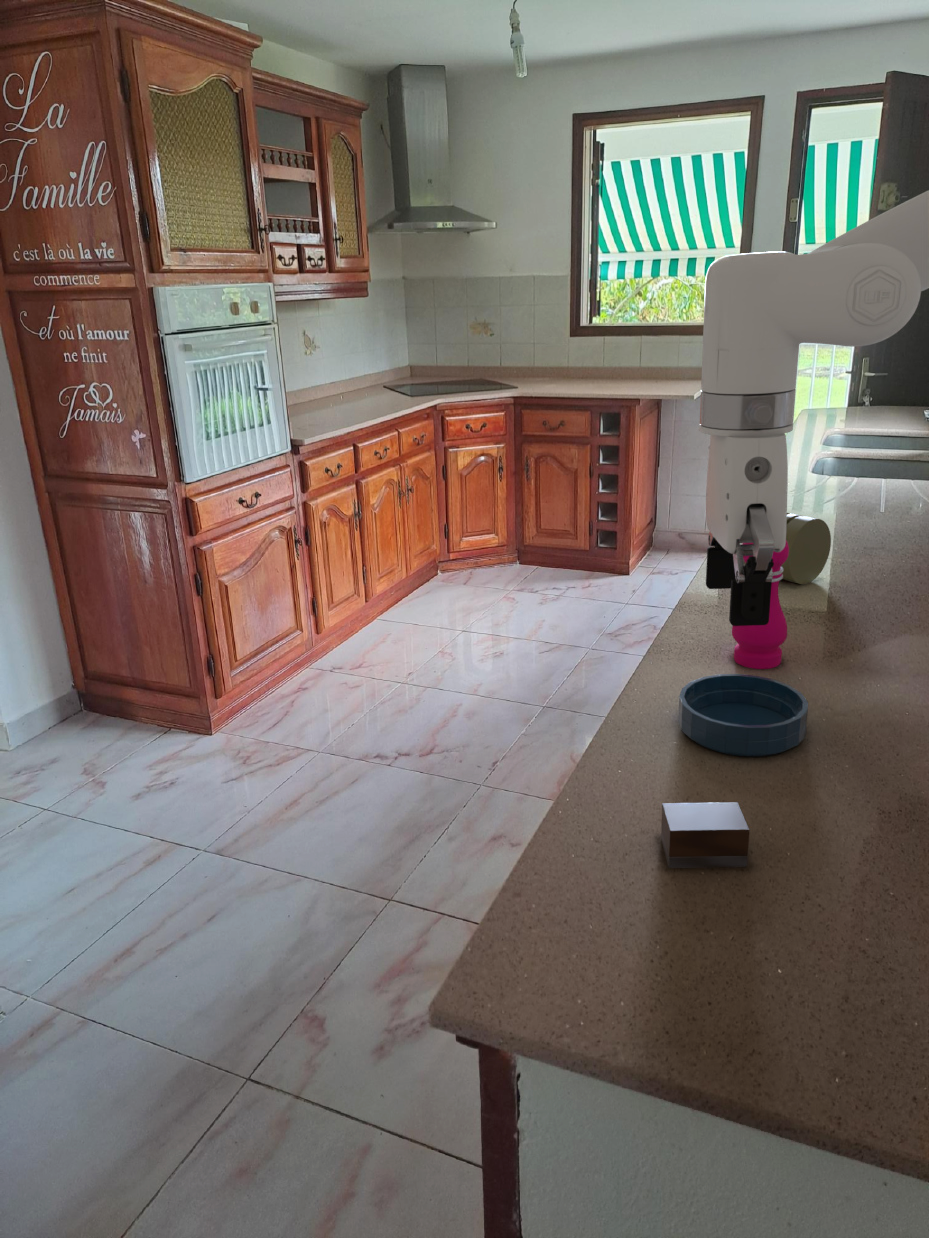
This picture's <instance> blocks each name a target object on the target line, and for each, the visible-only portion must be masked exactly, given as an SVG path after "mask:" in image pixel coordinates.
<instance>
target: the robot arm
mask: <svg viewBox="0 0 929 1238" xmlns="http://www.w3.org/2000/svg"><path fill="white" fill-rule="evenodd" d="M928 289H929V189H928V190H926V191H924V192H922V193H920V194H917V195H916V196H914V197H912V198H910V199H908V200H906V201H904V202H902V203H900V204H898V205H896V206H894V207H892V208H890V209H888V210H886V211H884V212H882V213H880V214H878V215H876V216H874V217H873V218H870V219H869V220H867V221H865V222H863V223H861V224H859V225H858V226H855V227H854V228H852V229H850V230H848V231H846V232H844V233H843V234H840V235H839V236H837V237H835V238H833V239H832V240H830V241H828V242H825V243H824V244H822V245H820V246H818V247H817V248H815V249H814V250H812V251H811V252H808V253H802V254H801V253H800V254H795V253H792V252H790V251H789V252H788V251H766V252H765V251H764V252H749V253H748V252H747V253H739V254H738V253H737V254H728V255H724V256H721V257H719V258H716V259H715V260H714V261H712V263H711V264H710V265H709V266H708V269H707V271H706V275H705V283H704V304H703V305H704V306H703V329H702V330H703V334H702V354H701V355H702V356H701V359H702V360H701V377H700V379H701V381H700V403H699V404H700V406H699V407H700V408H699V409H700V410H699V426H698V427H699V428H698V431H699V432H700V433H702V434H705V435H706V434H707V435H708V436H709V435H710V438H709V445H708V457H707V459H708V460H707V473H706V486H705V487H706V490H705V523H706V528H707V529H708V531H709V532H708V536H707V543H708V546H709V547H707V549H706V568H705V569H706V570H705V586H706V587H707V589H708V590H723V589H730V597H729V615H728V616H729V617H728V622H729V624H730V625H731V626H753V625H766V624H768V622H769V613H770V599H771V586H772V578H773V572H772V567H773V566H774V562H773V559H772V555H773V551H774V552H781V551H782V550H783V549H784V547H785V544H786V524H787V513H788V484H789V483H788V482H789V474H788V473H789V472H788V471H789V469H788V446H787V445H788V443H787V435H786V434H788V433H791V432H792V431H793V430H794V417H795V406H796V405H795V404H796V392H797V377H798V368H799V367H798V365H799V354H800V345H801V344H819V345H830V346H831V345H832V346H841V347H855V348H856V347H866V346H870V345H874V344H878V343H880V342H883V341H885V340H887V339H889V338H891V337H892V336H894V335H895V334H897V333H898V332H900V331H901V329H903V328H904V327H905V326H906V325H907V323H909V321H910V320H911V318H912V317H913V316H914V314H915V312H916V311H917V308H918V306H919V303H920V299H921V294H922V292H923V291H926V290H928ZM743 543H753V544H743ZM743 556H749V558H748V560H747V562H746V564H745V566H744V560H743Z"/></svg>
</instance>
